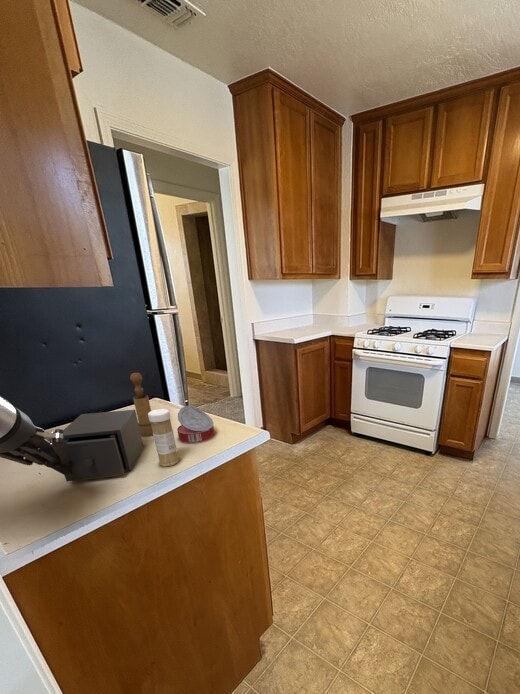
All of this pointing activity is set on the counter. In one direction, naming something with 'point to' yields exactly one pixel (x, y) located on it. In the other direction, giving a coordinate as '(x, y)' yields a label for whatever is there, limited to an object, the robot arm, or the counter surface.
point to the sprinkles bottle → (163, 437)
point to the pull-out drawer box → (95, 457)
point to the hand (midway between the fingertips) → (68, 468)
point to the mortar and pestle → (141, 406)
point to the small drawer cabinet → (111, 431)
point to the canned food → (194, 425)
